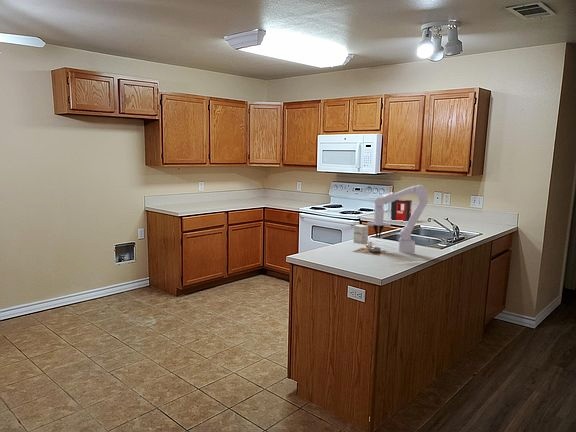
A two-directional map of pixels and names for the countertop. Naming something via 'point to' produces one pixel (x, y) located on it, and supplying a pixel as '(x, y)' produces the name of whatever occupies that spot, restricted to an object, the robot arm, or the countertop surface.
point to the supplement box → (360, 234)
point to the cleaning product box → (401, 210)
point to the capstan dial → (372, 248)
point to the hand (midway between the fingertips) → (378, 237)
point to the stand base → (369, 252)
